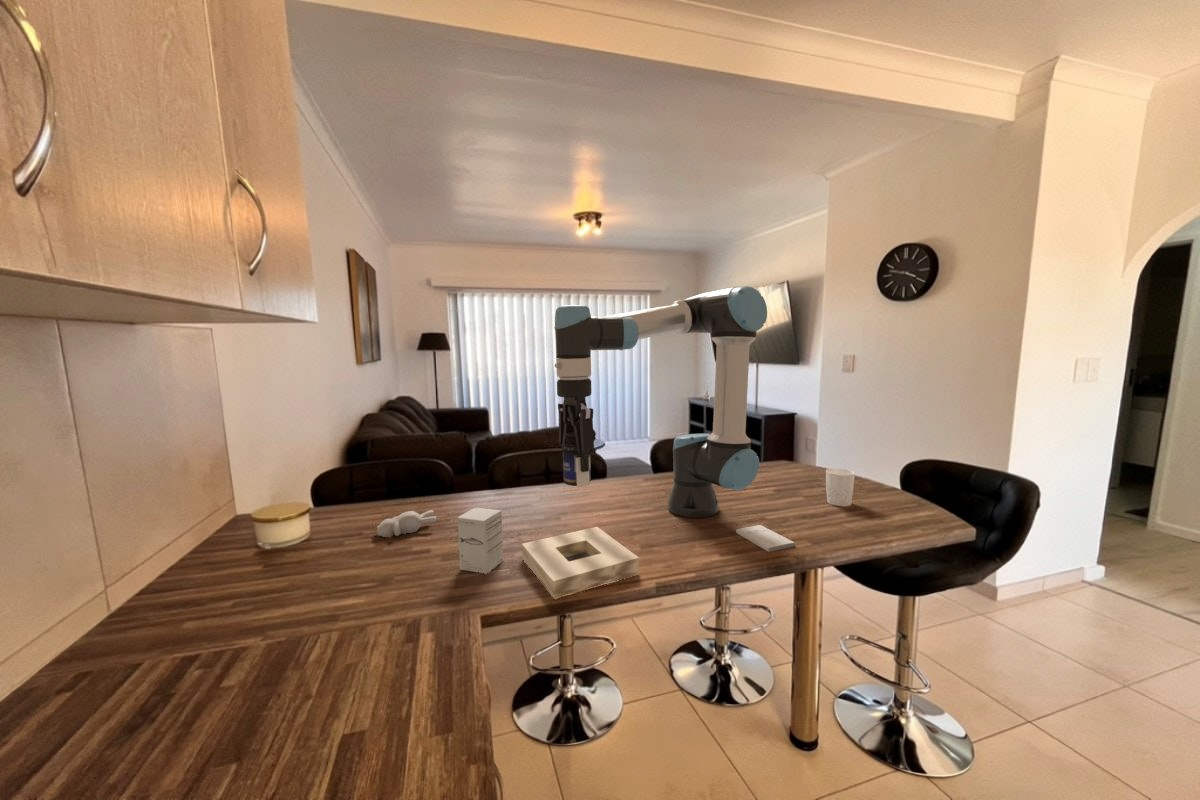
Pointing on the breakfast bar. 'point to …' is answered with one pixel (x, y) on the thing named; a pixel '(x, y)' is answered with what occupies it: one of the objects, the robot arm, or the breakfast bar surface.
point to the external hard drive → (765, 538)
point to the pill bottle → (571, 460)
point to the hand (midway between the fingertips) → (576, 481)
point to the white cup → (839, 486)
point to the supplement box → (480, 540)
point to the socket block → (578, 561)
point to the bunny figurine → (404, 523)
